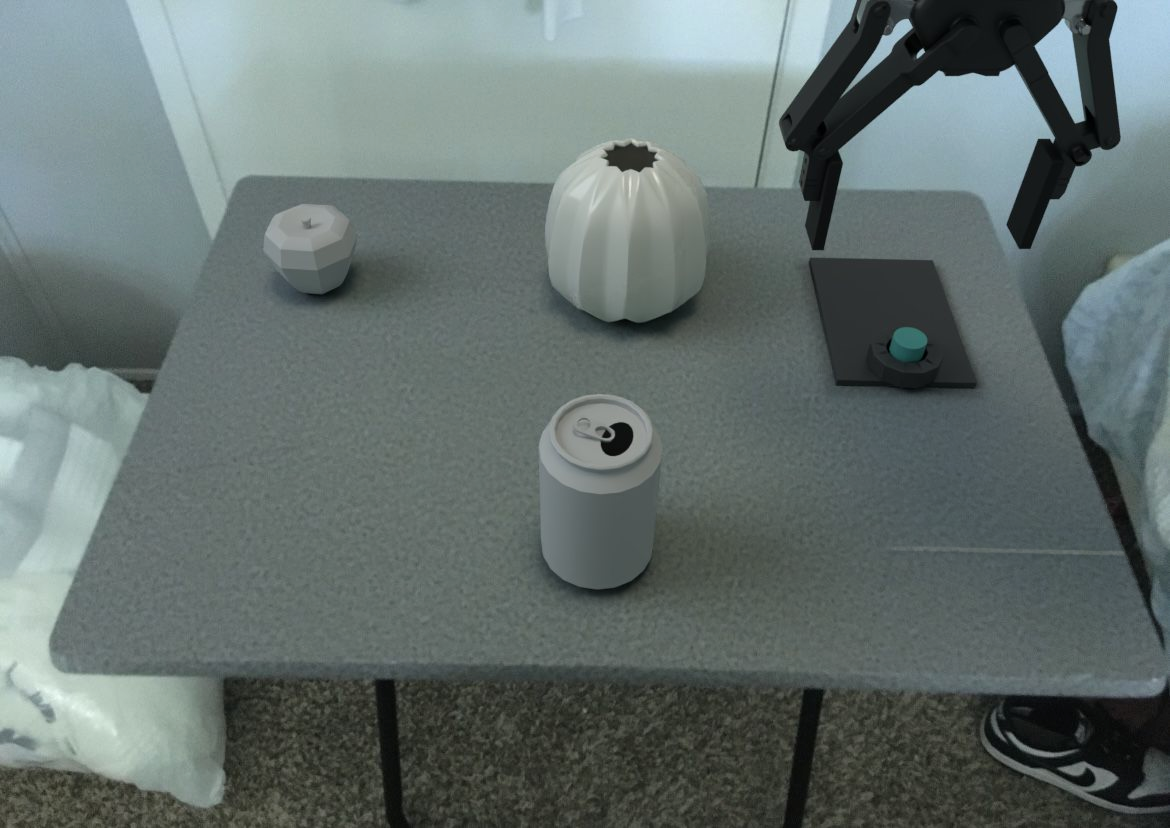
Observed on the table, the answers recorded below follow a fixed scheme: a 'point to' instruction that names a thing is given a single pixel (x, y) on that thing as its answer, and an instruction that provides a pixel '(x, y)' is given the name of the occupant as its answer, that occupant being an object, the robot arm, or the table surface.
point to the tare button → (908, 345)
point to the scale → (888, 322)
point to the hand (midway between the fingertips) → (916, 237)
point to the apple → (311, 246)
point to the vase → (628, 231)
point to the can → (599, 490)
